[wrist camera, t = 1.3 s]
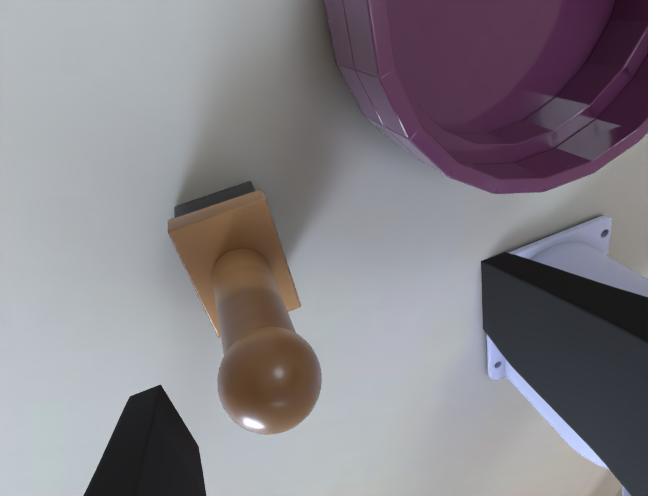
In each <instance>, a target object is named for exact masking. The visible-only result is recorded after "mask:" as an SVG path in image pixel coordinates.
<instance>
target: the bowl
mask: <svg viewBox="0 0 648 496" xmlns="http://www.w3.org/2000/svg"><path fill="white" fill-rule="evenodd" d="M324 3H325V8H326V13H327V18H328V23H329V29H330V34H331V39H332V44H333V49H334V54H335V59H336V63H337V66H338V68H339V70H340V72H341V73H342V75H343V77H344V79H345V81H346V83H347V85H348V87H349V89H350V90H351V92H352V94H353V96H354V98H355V100H356V102H357V104H358V105H359V107H360V109H361V111H362V113H363V114H364V115H365V117H366V118H367V119H368V120H369V121H371V122H372V123H373V124H374V125H375V126H376V127H377V128H378V129H379V130H380V131H381V132H383V133H384V134H385V135H386V136H387V137H388V138H389V139H390V140H391V141H392V142H393V143H395V144H396V145H397V146H398V147H399V148H401V149H402V150H404V151H406V152H407V153H409V154H411V155H412V156H414V157H416V158H417V159H419V160H421V161H422V162H424V163H425V164H427V165H429V166H430V167H432V168H434V169H435V170H437V171H439V172H440V173H442V174H444V175H445V176H447V177H449V178H451V179H454V180H457V181H459V182H462V183H465V184H468V185H470V186H473V187H476V188H479V189H481V190H484V191H487V192H490V193H494V194H507V193H533V192H545V191H548V190H550V189H553V188H556V187H558V186H561V185H564V184H566V183H569V182H572V181H574V180H577V179H580V178H582V177H585V176H588V175H590V174H592V173H595V172H596V171H597V170H599V169H600V168H602V167H603V166H605V165H606V164H607V163H609V162H610V161H612V160H613V159H615V158H616V157H617V156H619V155H620V154H622V153H623V152H625V151H626V150H627V149H629V148H630V147H632V146H633V145H635V144H636V143H637V142H639V141H640V140H641V139H642V138H643V137H644V136H645V135H646V134H647V133H648V0H324Z"/></svg>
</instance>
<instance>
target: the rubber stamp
mask: <svg viewBox="0 0 648 496" xmlns="http://www.w3.org/2000/svg"><path fill="white" fill-rule="evenodd" d="M168 234H169V236H170V238H171V240H172V242H173V244H174V246H175V248H176V251H177V253H178V255H179V257H180V259H181V261H182V263H183V265H184V267H185V269H186V271H187V273H188V275H189V278H190V280H191V282H192V284H193V286H194V288H195V290H196V292H197V294H198V296H199V298H200V300H201V302H202V305H203V307H204V309H205V311H206V313H207V315H208V317H209V319H210V321H211V323H212V325H213V327H214V329H215V332H216V334H217V336H218V337H219V338H221V339H222V346H223V352H224V357H223V359H222V361H221V364H220V367H219V372H218V379H217V383H218V393H219V397H220V401H221V403H222V405H223V408H224V409H225V411H226V412H227V414H228V415H229V417H230V418H231V419H232V420H233V421H234V422H235V423H236V424H238V425H239V426H241V427H242V428H244V429H246V430H248V431H251V432H254V433H258V434H278V433H282V432H285V431H288V430H290V429H292V428H294V427H295V426H297V425H298V424H299V423H301V422H302V421H303V420H304V419H305V418H306V417H307V416H308V415H309V413H310V412H311V411H312V409H313V408H314V406H315V404H316V402H317V399H318V397H319V394H320V389H321V379H322V378H321V368H320V364H319V361H318V358H317V356H316V354H315V352H314V350H313V349H312V347H311V346H310V345H309V344H308V342H307V341H306V340H305V339H303V338H302V337H301V336H299V335H298V334H296V332H295V330H294V327H293V325H292V322H291V319H290V317H289V314H288V312H289V311H292V310H294V309H297V308H299V307H301V304H300V301H299V298H298V295H297V291H296V288H295V285H294V282H293V279H292V276H291V273H290V270H289V267H288V264H287V261H286V258H285V255H284V252H283V249H282V245H281V242H280V239H279V236H278V233H277V230H276V227H275V224H274V221H273V218H272V215H271V212H270V209H269V206H268V203H267V200H266V197H265V195H264V194H263V192H262V190H257V191H255V189H254V186H253V184H252V182H247V183H244V184H241V185H238V186H235V187H232V188H229V189H226V190H223V191H220V192H217V193H214V194H211V195H208V196H205V197H202V198H199V199H196V200H193V201H190V202H187V203H184V204H181V205H178V206H175V218H174V219H171V220H169V221H168Z"/></svg>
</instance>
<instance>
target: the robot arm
mask: <svg viewBox="0 0 648 496" xmlns="http://www.w3.org/2000/svg"><path fill="white" fill-rule="evenodd" d="M611 228H612V219H611V218H609V217H607V216H605V215H603V216H600V217H597V218H595V219H592V220H590V221H587V222H585V223H582V224H579V225H577V226H574V227H572V228H569V229H567V230H564V231H562V232H559V233H557V234H554V235H551V236H549V237H546V238H544V239H541V240H539V241H536V242H534V243H531V244H529V245H526V246H523V247H521V248H518V249H516V250H513V251H511V252H508V253H507V252H504V253H501V254H499V255H496V256H494V257H491V258H488V259H486V260H483V261H481V272H482V306H483V329H484V331H485V332H486V333H487V357H488V376H489V377H490V378H491V380H493V381H497V380H500V379H502V378H504V377H507V378H508V379H509V380H510V381H511V382H512V383H513V384H514V386H515V387H516V388H517V389H518V390H519V391H520V392H521V393H522V394H523V395H524V396H525V398H526V399H527V400H528V401H529V402H530V403H531V404H532V405H533V406H534V407H535V408H536V410H537V411H538V412H539V413H540V414H541V415H542V416H543V417H544V418H545V419H546V420H547V422H548V423H549V424H550V425H551V426H552V427H553V428H554V429H555V430H556V431H557V432H558V433H559V435H560V436H561V437H562V438H563V439H564V440H565V441H566V442H567V443H568V444H569V445H570V446H571V447H572V448H573V449H574V450H575V451H576V452H578V453H579V454H580V455H582V456H583V457H585V458H586V459H588V460H590V461H592V462H593V463H595V464H598V465H600V466H602V467H604V468H607V469H610V470H611V472H612V473H613V474H614V475H615V477H616V478H617V479H618V480H619V481H620V483H621V484H622V485H623V486H622V492H623V496H648V278H646V277H644V276H642V275H640V274H639V273H637V272H635V271H633V270H632V269H630V268H628V267H626V266H624V265H623V264H621V263H619V262H617V261H616V260H614V259H612V258H610V257H608V256H607V255H608V249H609V242H610V235H611ZM84 496H206V491H205V484H204V478H203V471H202V465H201V459H200V453H199V447H198V445H197V443H196V441H195V440H194V438H193V437H192V435H191V433H190V432H189V430H188V428H187V427H186V425H185V424H184V422H183V420H182V419H181V417H180V415H179V414H178V412H177V410H176V409H175V407H174V406H173V404H172V402H171V401H170V399H169V397H168V396H167V394H166V392H165V391H164V389H163V388H162V386H161V385H158V386H156V387H153V388H151V389H148V390H145V391H143V392H140V393H138V394H135V395H132V396H130V398H129V399H128V401H127V403H126V405H125V408H124V410H123V412H122V414H121V416H120V418H119V421H118V423H117V425H116V427H115V430H114V432H113V434H112V436H111V438H110V441H109V443H108V445H107V447H106V449H105V452H104V454H103V456H102V458H101V460H100V462H99V465H98V467H97V469H96V471H95V473H94V475H93V477H92V479H91V481H90V483H89V486H88V488H87V490H86V492H85V494H84Z"/></svg>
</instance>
